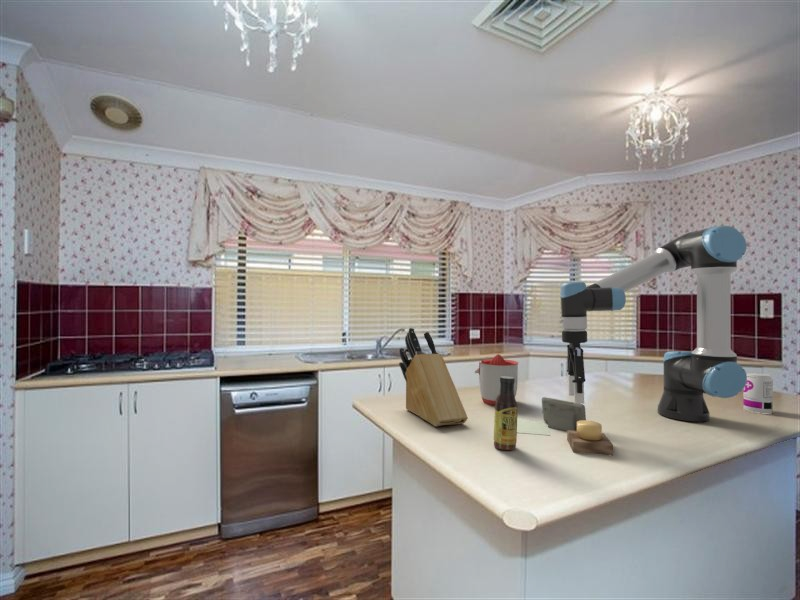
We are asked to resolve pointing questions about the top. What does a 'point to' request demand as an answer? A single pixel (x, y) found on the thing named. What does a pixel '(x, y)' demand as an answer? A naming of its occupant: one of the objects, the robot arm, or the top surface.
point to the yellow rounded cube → (589, 430)
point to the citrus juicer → (495, 377)
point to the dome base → (589, 444)
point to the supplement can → (758, 393)
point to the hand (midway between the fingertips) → (576, 399)
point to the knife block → (429, 384)
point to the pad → (531, 427)
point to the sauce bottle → (505, 415)
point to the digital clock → (562, 413)
